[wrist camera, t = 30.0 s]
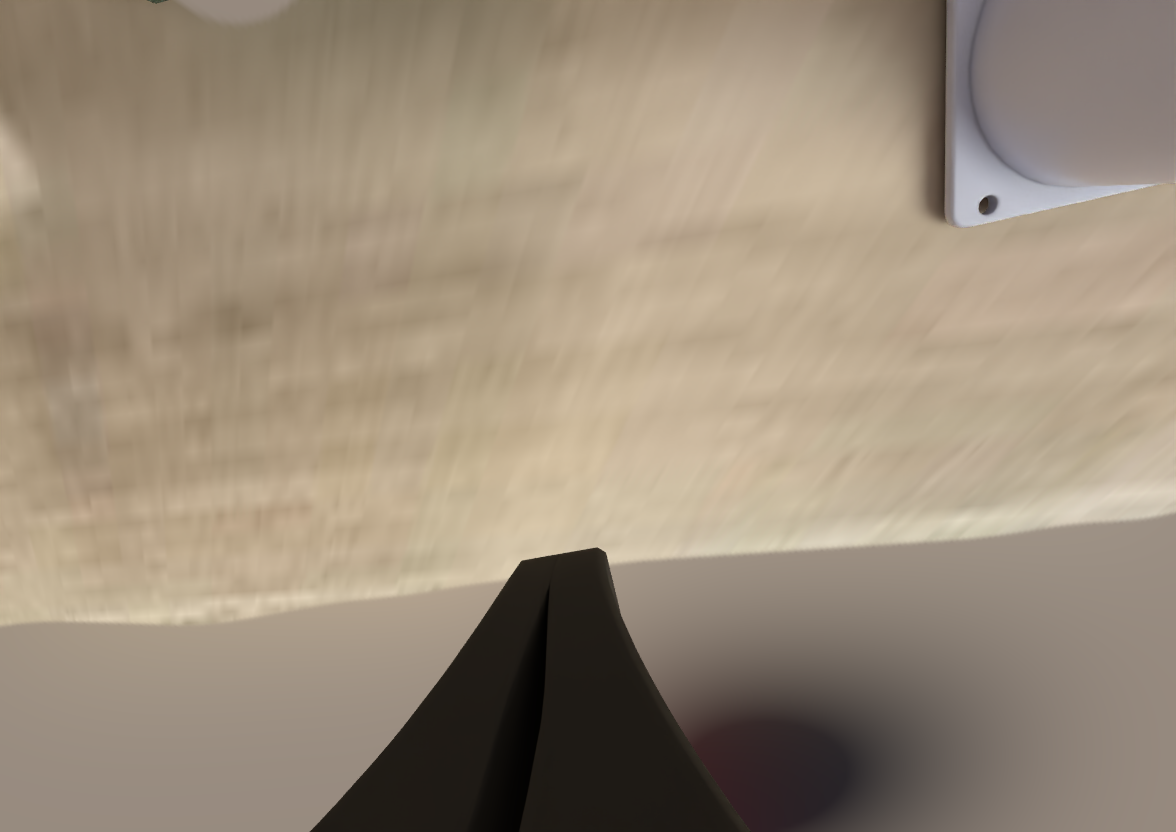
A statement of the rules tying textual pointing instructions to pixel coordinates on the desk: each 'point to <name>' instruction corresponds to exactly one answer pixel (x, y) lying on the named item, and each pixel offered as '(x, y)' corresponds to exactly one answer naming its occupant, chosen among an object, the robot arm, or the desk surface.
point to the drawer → (156, 1)
